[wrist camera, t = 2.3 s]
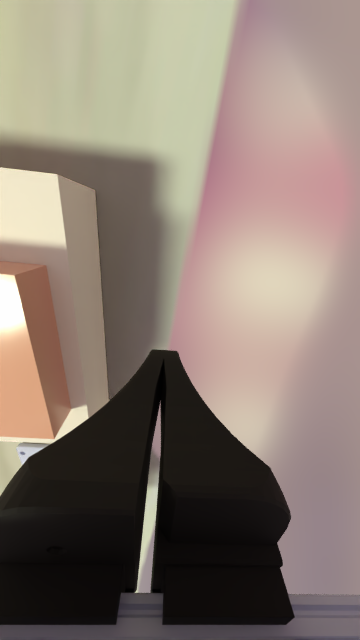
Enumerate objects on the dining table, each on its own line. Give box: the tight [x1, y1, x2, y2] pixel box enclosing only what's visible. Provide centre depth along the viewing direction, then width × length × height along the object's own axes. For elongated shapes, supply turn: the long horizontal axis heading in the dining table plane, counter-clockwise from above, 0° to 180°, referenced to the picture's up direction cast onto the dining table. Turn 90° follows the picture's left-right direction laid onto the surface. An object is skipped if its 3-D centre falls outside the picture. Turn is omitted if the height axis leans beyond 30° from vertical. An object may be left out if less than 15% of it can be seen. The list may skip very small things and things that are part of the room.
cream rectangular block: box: [0, 167, 109, 444], centre depth 13 cm, size 16×10×4 cm, turn 174°
